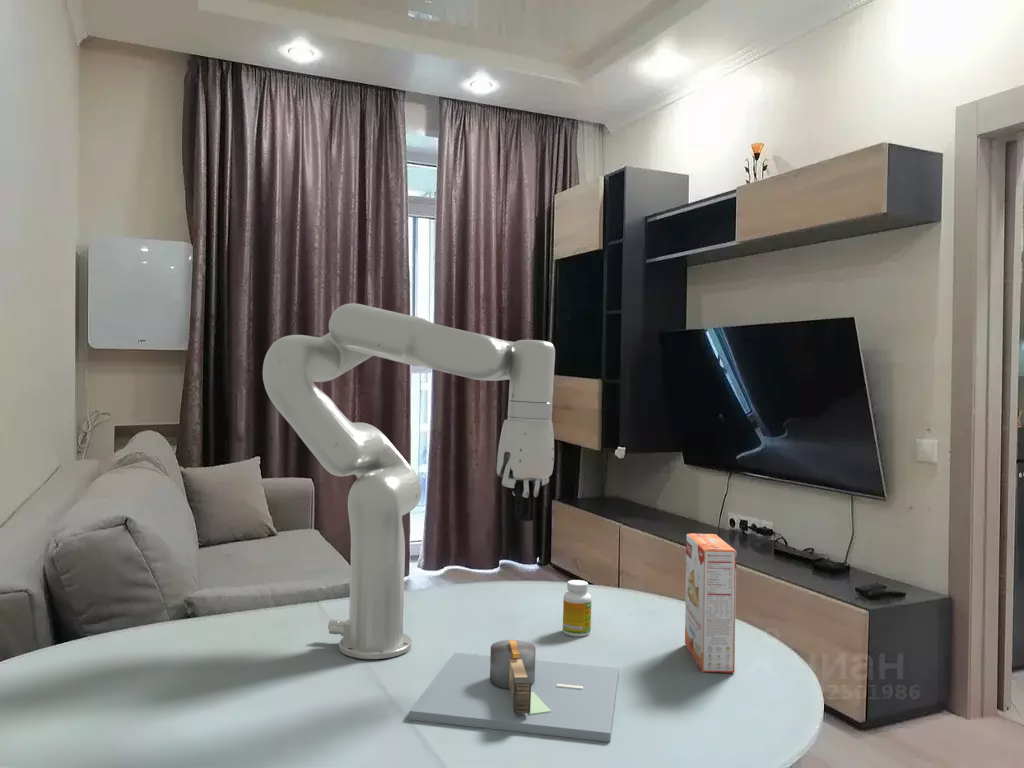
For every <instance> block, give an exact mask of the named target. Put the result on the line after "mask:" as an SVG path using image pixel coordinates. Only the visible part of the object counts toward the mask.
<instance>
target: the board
mask: <svg viewBox="0 0 1024 768" xmlns="http://www.w3.org/2000/svg"><path fill="white" fill-rule="evenodd" d="M619 673H620V668H619V667H610V666H599V665H590V664H589V665H588V664H578V663H567V662H558V661H549V660H548V661H547V660H537V659H535V682H534V683H533V684H532V685H531V705H530V713H514V709H513V699H512V695H511V691H510V688H503V687H499V686H496V685H494V684H493V683H491V681H490V655H484V654H472V653H463V652H462V653H461V652H453V654H452V655H451V657H449V659H448V660H447V662H446V663H445V664H444V665H443V666H442V668H441V669H440V671H438V673H437V675H436V676H435V678H433V680H432V681H431V682H430V684H429V685H428V686H427V688H426V689H425V690H424V692H423V693H422V694H421V696H419V699H418V700H417V701H416V702H415V703H414V705H413V706H412V707H411V709H410V710H409V720H412V721H420V722H430V723H439V724H447V725H458V726H466V727H473V728H474V727H475V728H482V729H493V730H500V731H501V730H502V731H509V732H516V733H517V732H519V733H527V734H536V735H546V736H552V737H553V736H554V737H561V738H570V739H571V738H573V739H579V740H580V739H581V740H588V741H589V740H590V741H598V742H606V743H611V739H612V731H613V723H614V715H615V707H616V701H615V700H616V699H617V693H616V692H617V691H618V683H619V676H620V674H619Z"/></svg>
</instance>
